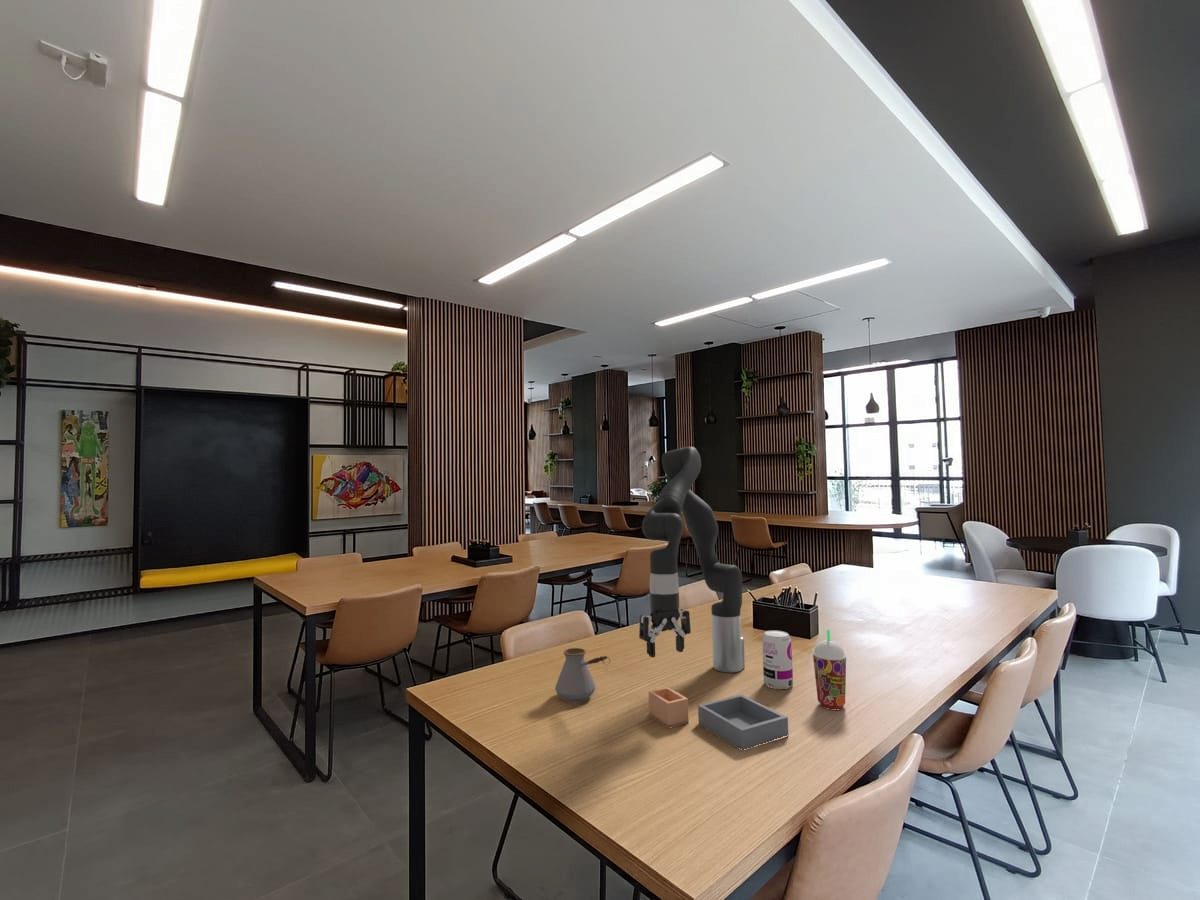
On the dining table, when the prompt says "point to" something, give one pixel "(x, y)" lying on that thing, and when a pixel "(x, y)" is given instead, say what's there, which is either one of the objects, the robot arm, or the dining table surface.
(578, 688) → the coffee pot
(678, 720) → the terracotta crate
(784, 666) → the supplement can
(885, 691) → the dining table surface
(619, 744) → the dining table surface
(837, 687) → the smoothie
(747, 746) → the grey crate
